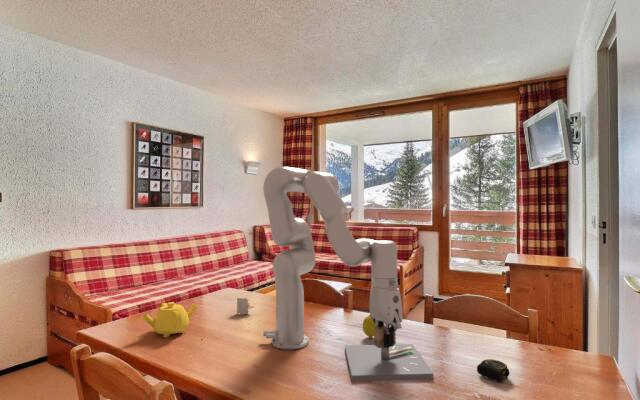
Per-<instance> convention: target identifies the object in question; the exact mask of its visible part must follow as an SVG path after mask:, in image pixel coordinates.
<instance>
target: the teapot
mask: <svg viewBox="0 0 640 400" xmlns="http://www.w3.org/2000/svg"><path fill="white" fill-rule="evenodd" d="M197 309H198V305H195V304H192V305H191V307H190V308H189V309H188V311H186V310H185V308H184V306H183V305H182V304H178V303H177V304H176V303H175V302H174V301H171V302H169V301H168V303H167V302H162V303H161V307H160V308H159V309H158V311H157V312H156V313H155V316H154V317H153V318H152V317H151V316H150V314H148V313H145V314H143V316H142V317H141V319H143V320H144V321H145V322H146V323H147V324H148V325H149V326H151V328H152V330H153V331H154V332H155V333H157V334H158V335H163V336H162V338H163V337H167V338H169V337H170V336H171V334H172V335H174V334H178V333H179V334H178V335H181V334H180V333H183V334H185V330H186V329H187V327H189V324H190V318H191V317H192V315H193V314H194V313H195V311H196V310H197Z"/></svg>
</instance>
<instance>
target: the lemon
mask: <svg viewBox="0 0 640 400" xmlns="http://www.w3.org/2000/svg"><path fill="white" fill-rule="evenodd" d="M374 328H375V324H374V322H373V320H372V319H371V317H370V314H369V315H367V316H366V317H365V318H364V319H363V321H362V331H363V333H364V334H365V335H366V336H367V337H369V339H372V338H374Z"/></svg>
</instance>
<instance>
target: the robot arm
mask: <svg viewBox="0 0 640 400" xmlns="http://www.w3.org/2000/svg"><path fill="white" fill-rule="evenodd" d="M339 187H340V185H339V180H338V179H337V177H336V176H334V175H333V174H332V173H329V172H323V171H315V170H310V169H304V168H298V167H292V166H291V167H290V166H277V167H275V168H273V169H271V170H270V171H269V173H267V175H266V177H265V178H264V182H263V188H262V189H263V196H264V199H265V203H266V207H267V213H268V219H269V226H270V227H269V228H270V231H271V236H272V237H271V238H272V240H273V242H274V243H275V244H276V246H278V247H289V246H290V249H286V250H283V251H281V252H278V254H276V255H275V257H274V258H273V263H272V271H273V276H274V283H275V306H276V307H275V308H276V309H275V312H276V313H275V316H276V317H275V318H276V319H275V321H276V322H275V324H276V325H275V326H276V327H275V328H274V329H272V330H267V329H266V330H263V333H262V334H263V337H265V339H271V345H272V346H273V347H274V348H276V349H280V350H286V351H288V350H289V351H291V350H298V349H302V348H304V347H306V346H307V345H308V344H309V342H310V337H309V336H308V335H306V334H305V294H304V293H305V292H304V291H305V290H304V285H303V282H302V279H301V276H302V275H305V274H307V273H309V272H311V271H312V270H313V269H314V267H315V265H316V252H315V247H314V241H313V236H312V231H311V228H310V226H309V224H308V222H307V221H305V219H303V218H300V217H295V216H294V211H293V205H292V202H291V200H290V198H289V196H288V195H287V193H304V194H306V195H307V196H308V198H309V200H310V201H311V202H312V204H313V205H314V207H315V209H316V211H317V212H318V214H319V215H320V217H321V218H322V219H323V222H324V228H325V233H326V238H327V239H328V242H329V244H330V246H331V248H332V249H333V251H334V252H335V254H336V255H337V257H338V258H339V260H340V261H341V262H342V263H344V265H346V266H348V267H353V268H354V267H358V266H360V265H363V264H366V263H370V262H371V265H370V266H371V286H370V294H369V315H370V317H371V319H372V320H373V322H374V324H375V328H378V327H383V326H385V331H386V333H385V334H384V347H386V348H388V347H391V346H394V333H395V332H396V331H397V330H400V329H402V324H401V323H403V304H402V296H401V292H400V288H399V287H398V286H399V281H398V246H397V243H396V242H395V241H393V240H388V239H387V240H386V239H385V240H384V239H381V240H377V239H376V240H374V239H371V238H357V239H355V237H354V236H353V235H352V233H351V231H350V229H349V228H348V225H347V223H346V214H347V210H348V208H347V204H346V203H345V202H344V201H343V199H342V198H341V196H340V194H339V193H338V192H339V189H340V188H339ZM389 325H391V327H390V328H389Z"/></svg>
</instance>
